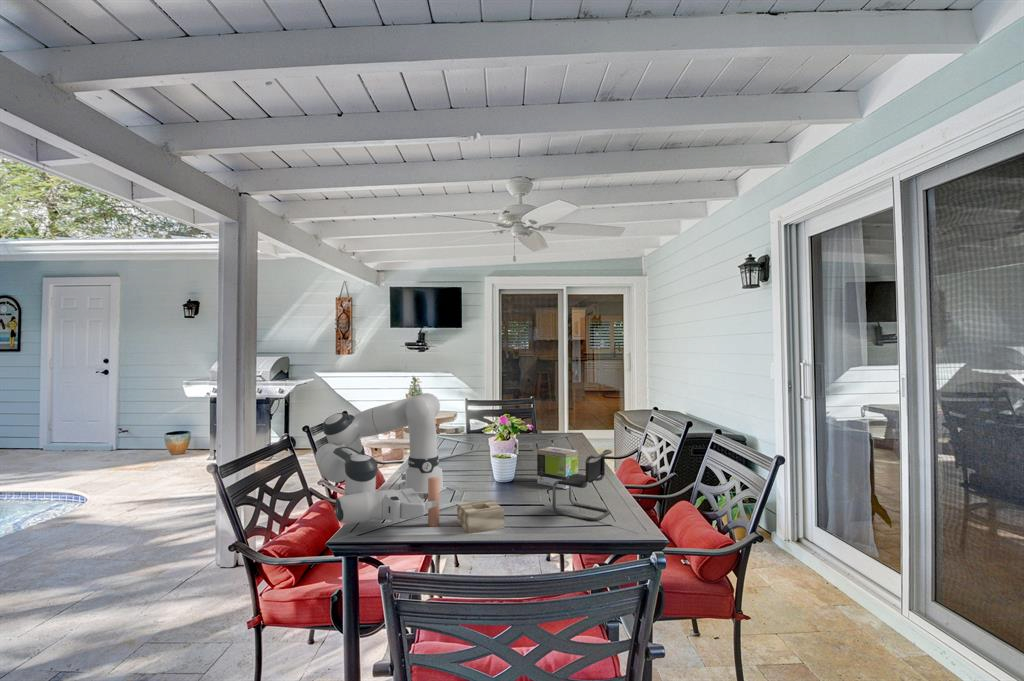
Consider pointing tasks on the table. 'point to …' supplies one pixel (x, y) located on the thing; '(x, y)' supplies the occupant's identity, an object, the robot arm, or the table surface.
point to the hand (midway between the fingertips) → (432, 499)
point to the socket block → (480, 516)
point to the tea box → (556, 465)
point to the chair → (584, 485)
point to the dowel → (433, 495)
